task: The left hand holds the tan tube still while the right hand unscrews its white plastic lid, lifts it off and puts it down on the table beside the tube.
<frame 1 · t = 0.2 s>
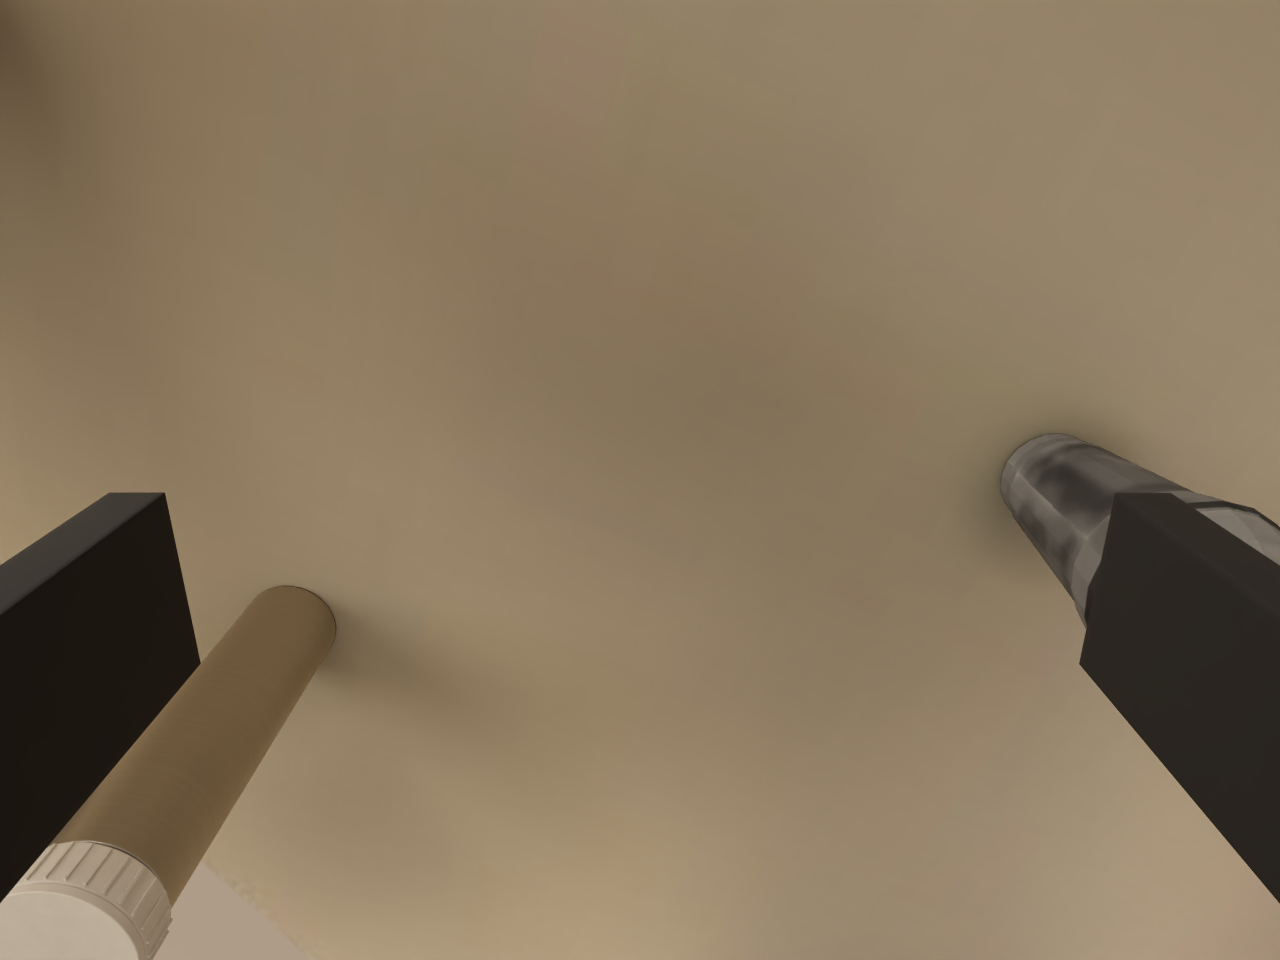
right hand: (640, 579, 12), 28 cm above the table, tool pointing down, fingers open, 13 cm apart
lid: (63, 944, 27), point 19 cm above the table, screwed on, not yet turned
tan tube: (292, 624, 45), on the table
beverage cup: (1046, 477, 42), on the table
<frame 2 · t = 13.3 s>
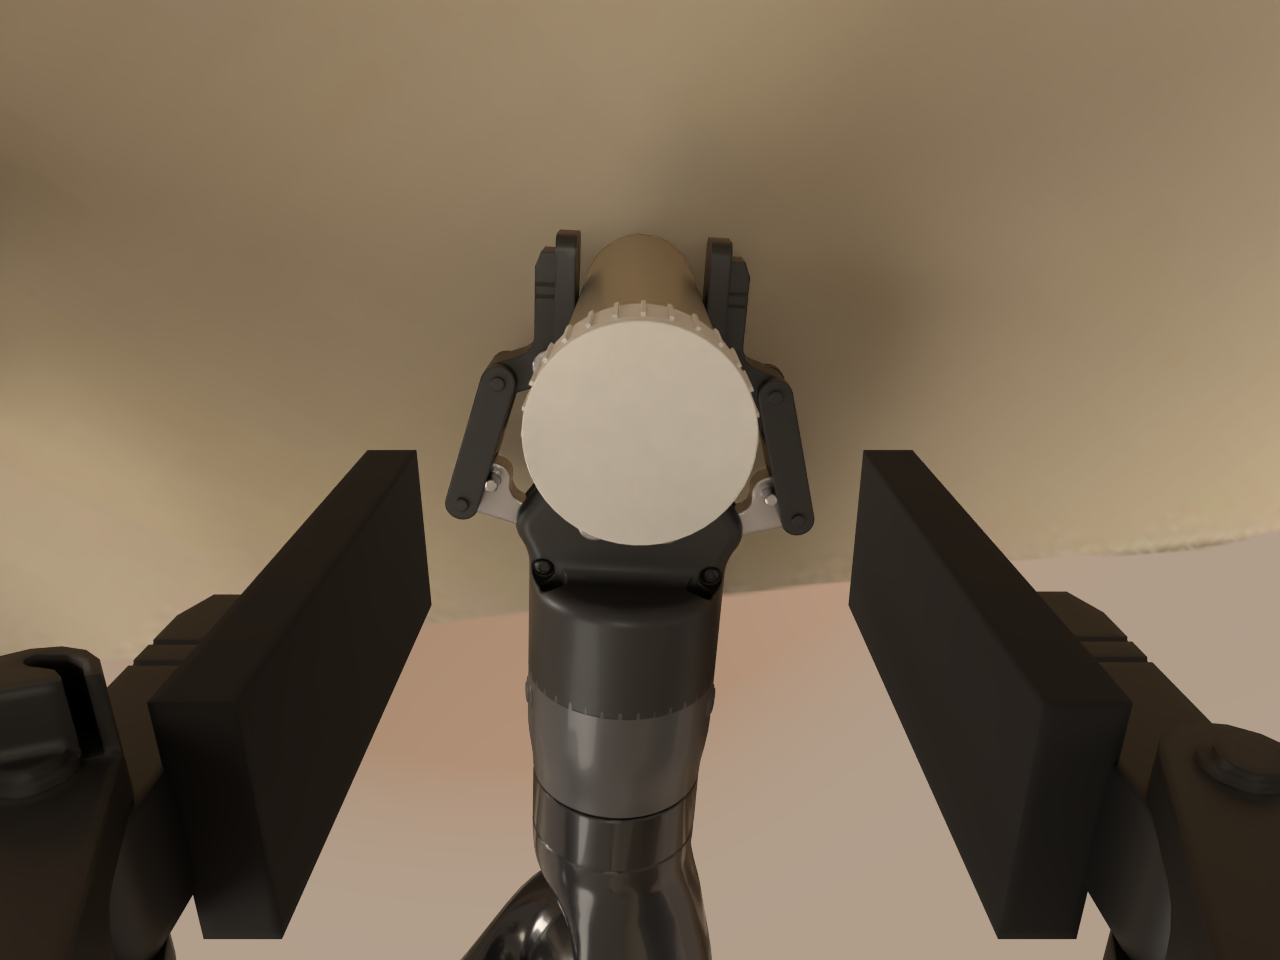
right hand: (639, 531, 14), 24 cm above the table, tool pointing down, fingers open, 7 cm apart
left hand: (645, 238, 30), fingers closed on tan tube, 4 cm apart
lid: (640, 433, 19), point 19 cm above the table, screwed on, not yet turned
tan tube: (640, 289, 36), on the table, touching left hand
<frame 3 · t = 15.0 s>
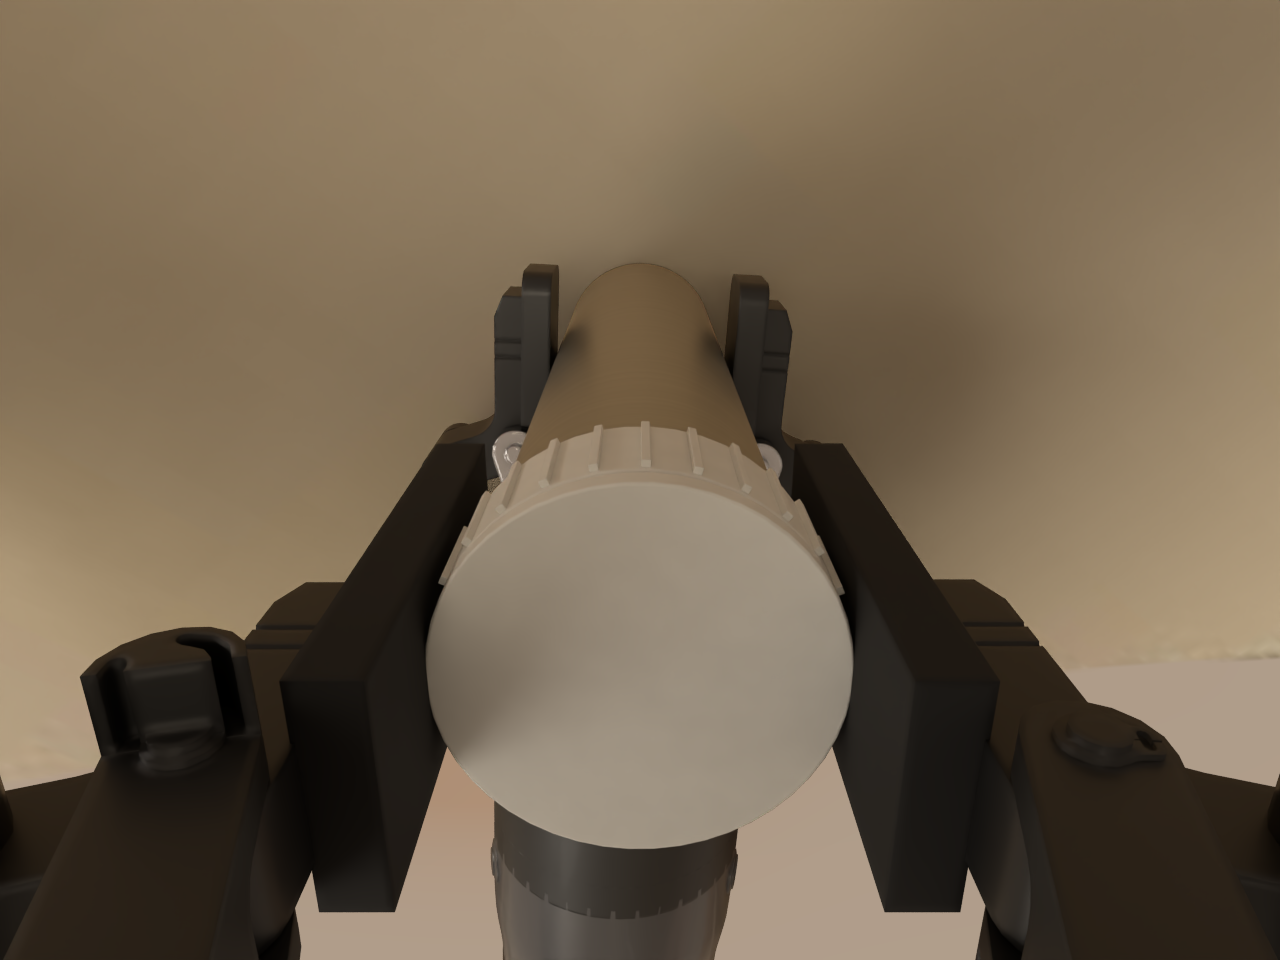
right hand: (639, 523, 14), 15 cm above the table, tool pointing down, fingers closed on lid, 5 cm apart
lid: (639, 665, 10), point 19 cm above the table, screwed on, not yet turned, touching right hand
tan tube: (640, 333, 28), on the table, touching left hand
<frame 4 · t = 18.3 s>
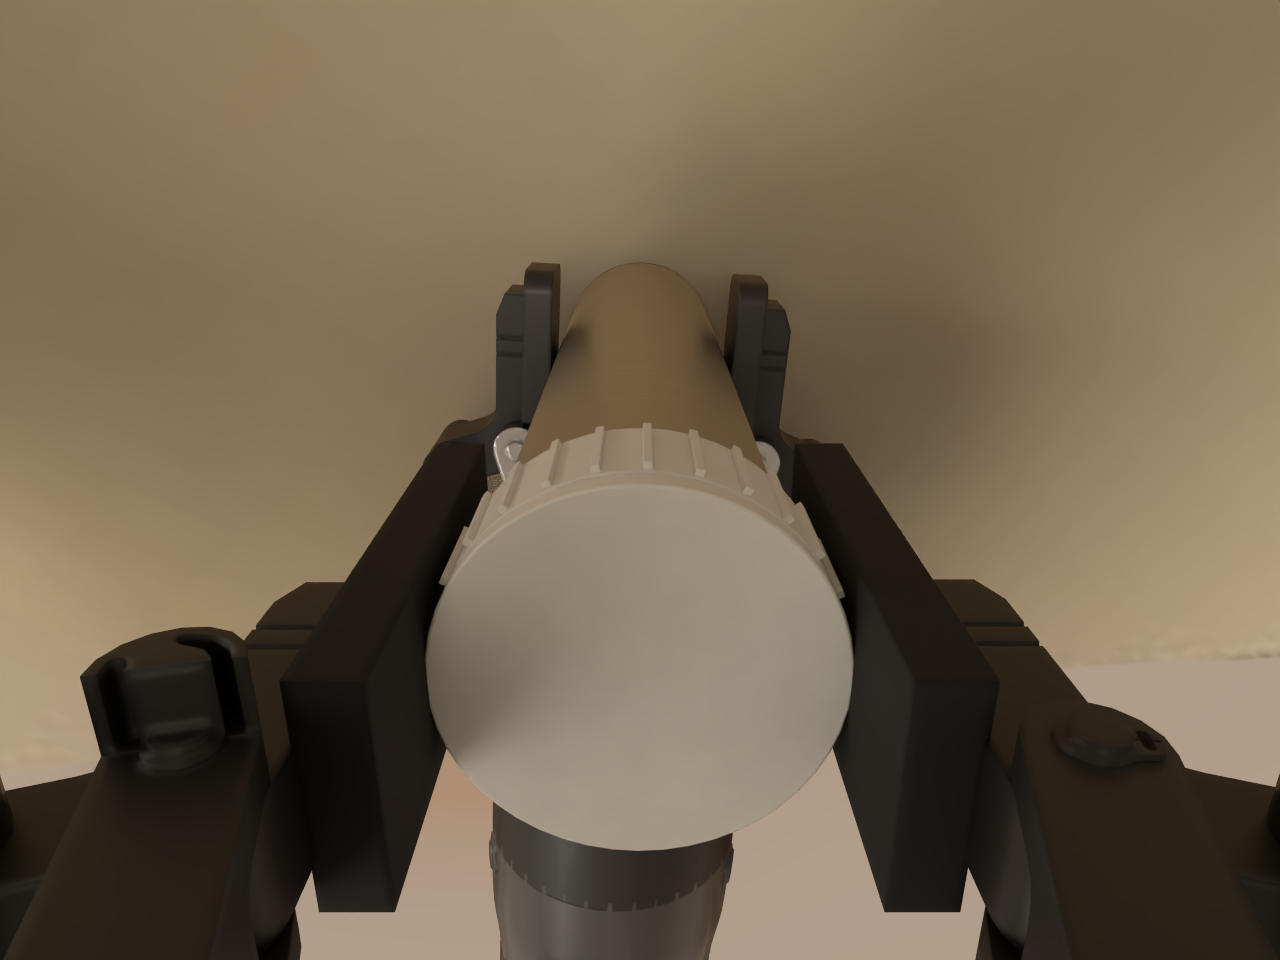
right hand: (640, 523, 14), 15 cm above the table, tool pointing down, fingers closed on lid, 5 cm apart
lid: (639, 667, 10), point 19 cm above the table, turned 93° so far, risen 0.3 cm, still on its thread, touching right hand
tan tube: (639, 332, 28), on the table, touching left hand
when the right hand's fingers open (0 cm above the table, at t = 25.4 s): lid drops 3 cm, point 2 cm above the table.
when the left hand's fingers open (6 cm above the table, at t = 26.0 s): tan tube stays where it is, on the table.
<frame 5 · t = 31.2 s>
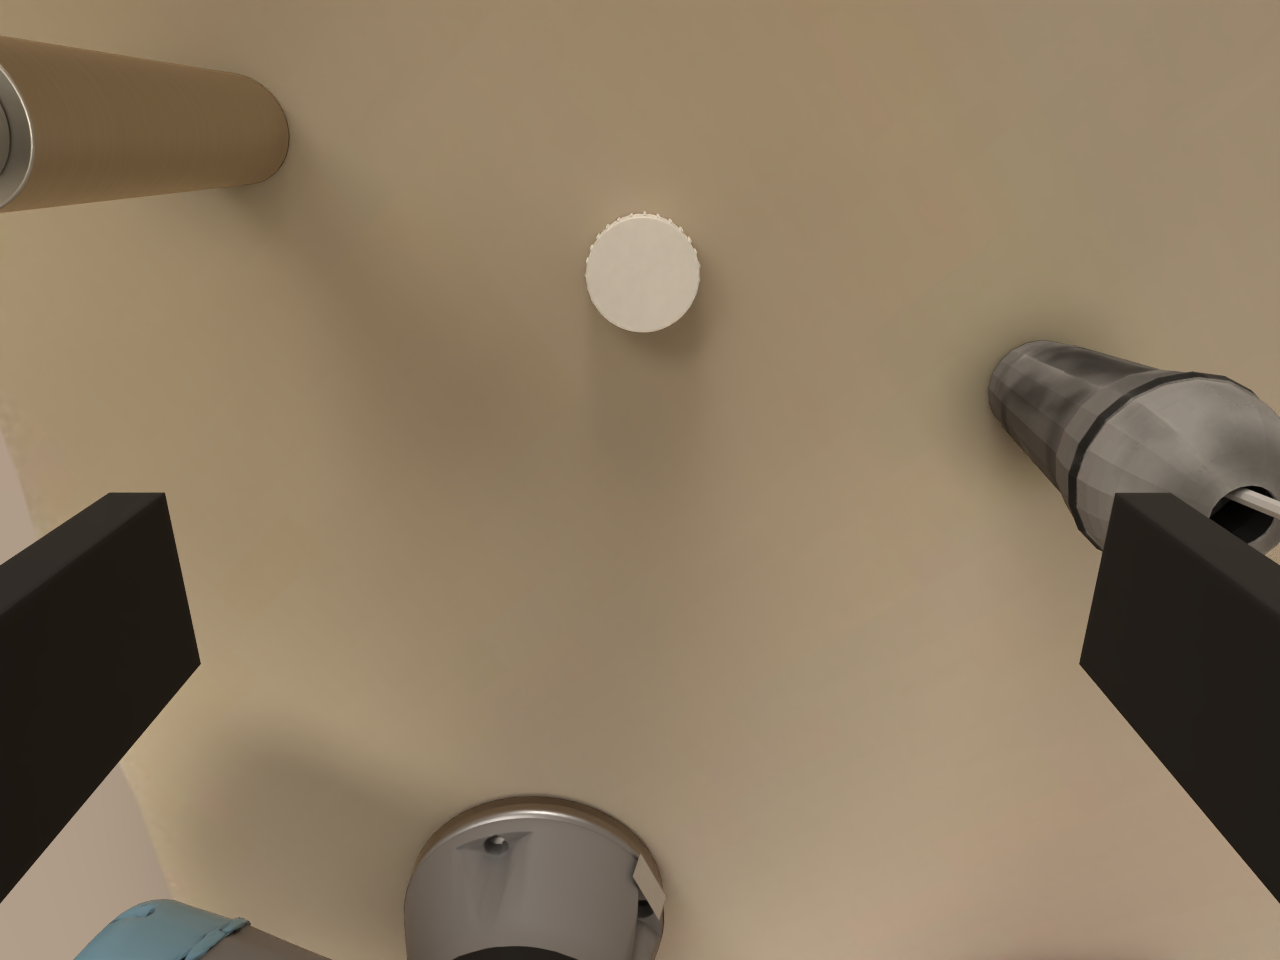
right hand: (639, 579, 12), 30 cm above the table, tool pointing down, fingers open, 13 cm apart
lid: (642, 275, 38), point 2 cm above the table, off its thread
tan tube: (237, 129, 38), on the table
beverage cup: (1034, 386, 42), on the table
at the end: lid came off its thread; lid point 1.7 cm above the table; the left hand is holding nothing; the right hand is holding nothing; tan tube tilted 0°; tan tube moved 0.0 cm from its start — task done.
